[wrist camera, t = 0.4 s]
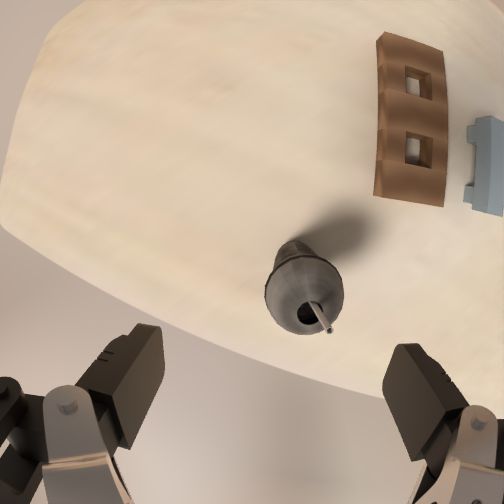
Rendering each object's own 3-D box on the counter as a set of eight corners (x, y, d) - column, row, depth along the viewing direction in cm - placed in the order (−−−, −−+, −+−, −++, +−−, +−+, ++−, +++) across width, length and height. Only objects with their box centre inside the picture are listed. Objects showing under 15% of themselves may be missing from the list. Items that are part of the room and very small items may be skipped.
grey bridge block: (464, 120, 30) (490, 115, 24) (479, 127, 30) (506, 123, 24) (460, 206, 34) (487, 213, 27) (475, 209, 34) (502, 216, 27)
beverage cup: (254, 268, 38) (241, 361, 18) (284, 219, 36) (302, 271, 17) (302, 294, 38) (329, 398, 19) (332, 248, 36) (393, 323, 17)
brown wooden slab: (376, 41, 29) (384, 31, 25) (431, 58, 28) (442, 51, 25) (373, 195, 34) (383, 197, 31) (430, 204, 34) (443, 207, 31)
